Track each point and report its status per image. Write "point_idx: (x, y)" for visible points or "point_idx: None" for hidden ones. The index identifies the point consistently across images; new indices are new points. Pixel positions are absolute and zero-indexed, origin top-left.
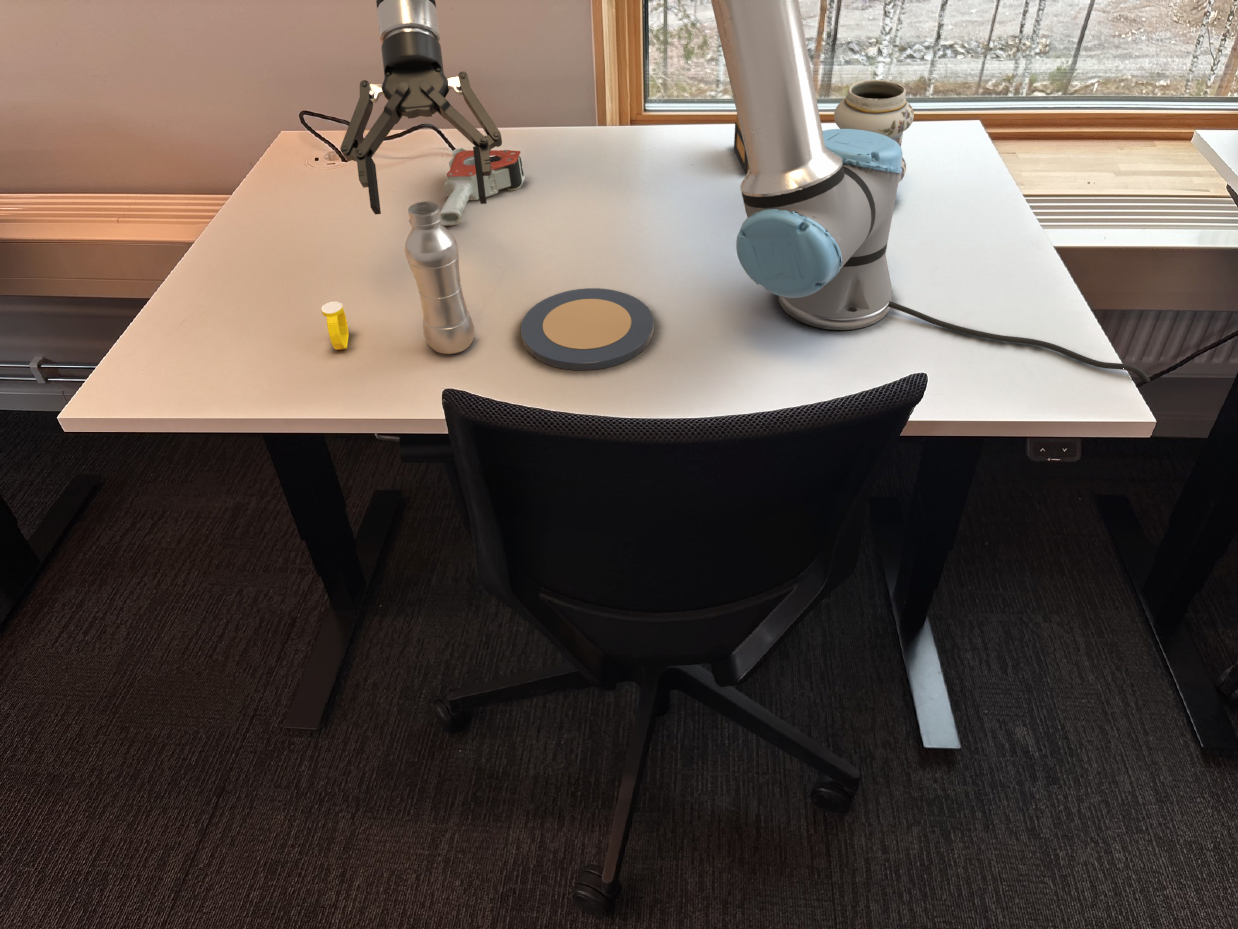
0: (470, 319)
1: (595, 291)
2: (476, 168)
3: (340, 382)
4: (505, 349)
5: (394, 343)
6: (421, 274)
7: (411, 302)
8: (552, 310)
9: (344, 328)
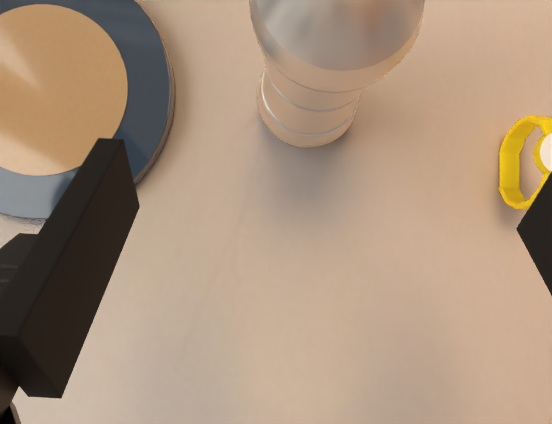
0: (260, 80)
1: (3, 200)
2: (71, 227)
3: (505, 48)
4: (208, 75)
5: (411, 146)
6: None
7: (377, 284)
8: None
9: (511, 195)
